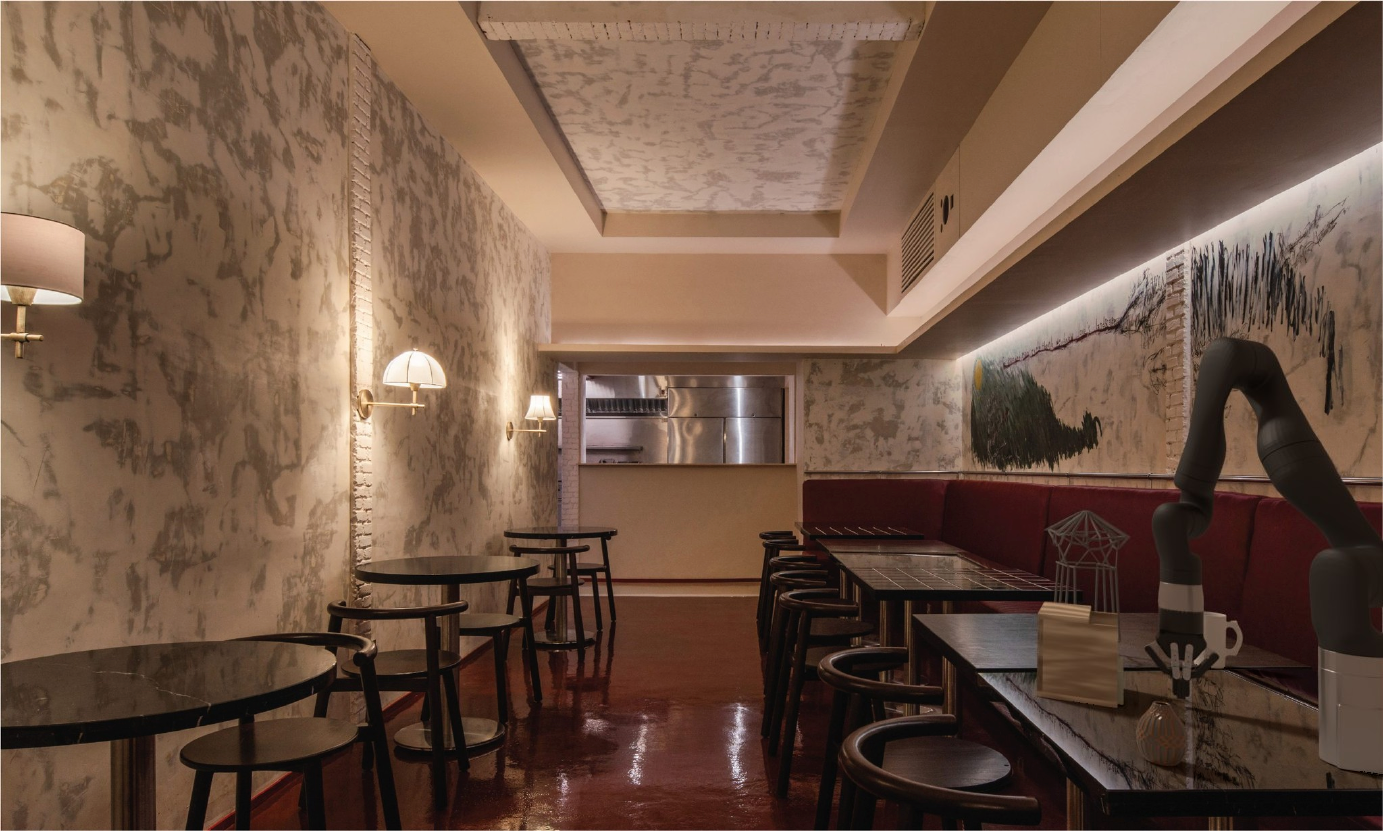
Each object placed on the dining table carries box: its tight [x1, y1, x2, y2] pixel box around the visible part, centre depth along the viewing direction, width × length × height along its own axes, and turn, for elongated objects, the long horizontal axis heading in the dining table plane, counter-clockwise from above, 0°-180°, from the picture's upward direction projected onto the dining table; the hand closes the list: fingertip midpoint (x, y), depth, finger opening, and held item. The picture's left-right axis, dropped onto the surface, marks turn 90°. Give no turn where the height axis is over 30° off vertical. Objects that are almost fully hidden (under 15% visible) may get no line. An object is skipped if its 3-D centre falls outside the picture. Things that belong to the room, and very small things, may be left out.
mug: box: [1193, 611, 1243, 669], centre depth 198 cm, size 10×7×12 cm, turn 68°
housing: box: [1036, 601, 1119, 709], centre depth 169 cm, size 18×14×16 cm
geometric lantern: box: [1043, 509, 1131, 644], centre depth 205 cm, size 16×16×35 cm
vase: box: [1135, 700, 1189, 767], centre depth 128 cm, size 7×7×9 cm
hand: (1181, 698), depth 161 cm, fingers closed
